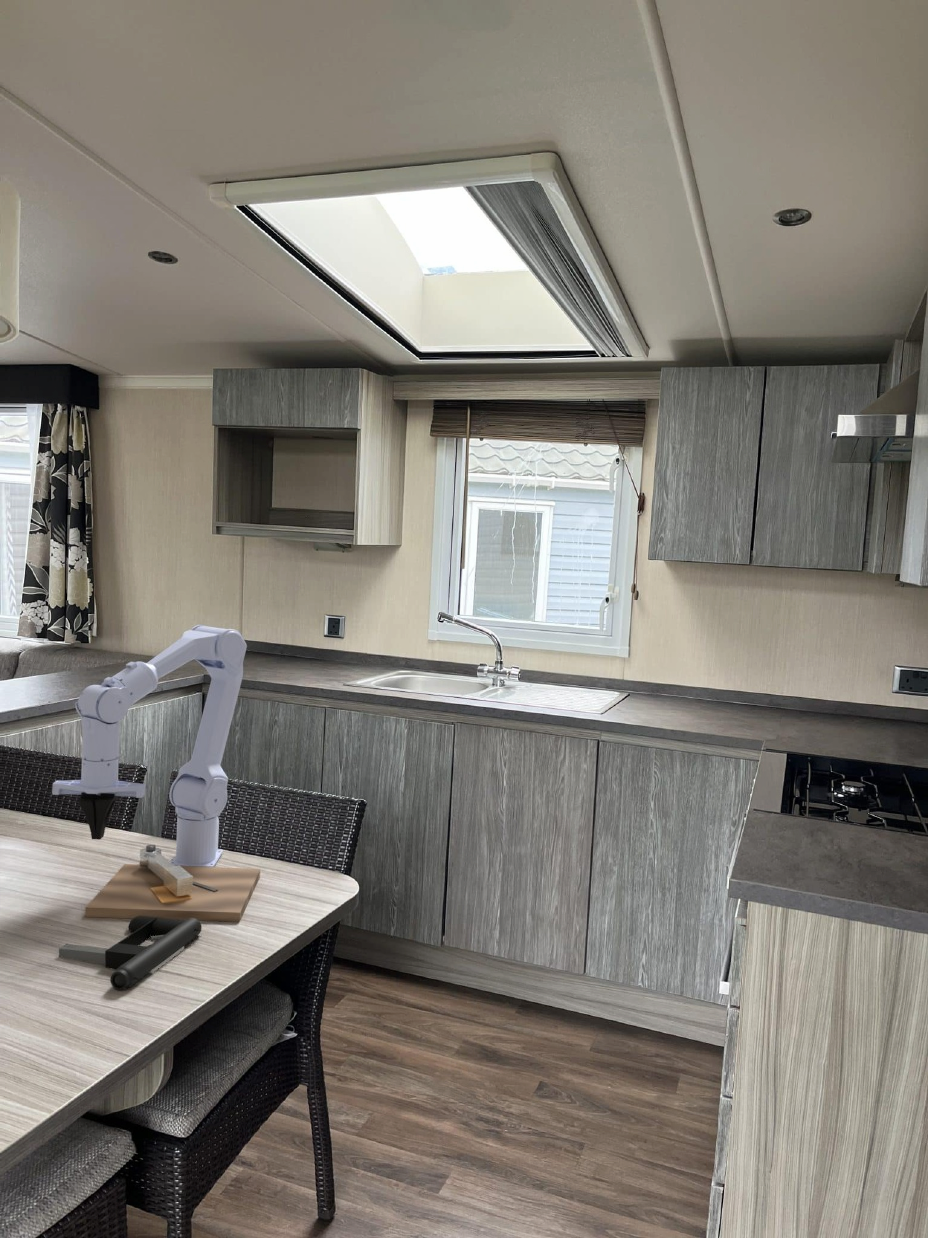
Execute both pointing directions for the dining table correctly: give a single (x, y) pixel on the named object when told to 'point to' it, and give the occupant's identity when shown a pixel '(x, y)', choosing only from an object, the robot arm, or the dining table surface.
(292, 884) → the dining table surface
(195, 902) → the board
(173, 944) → the door handle
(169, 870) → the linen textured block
